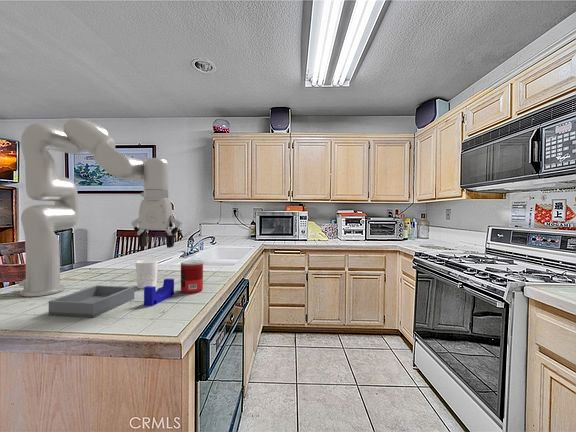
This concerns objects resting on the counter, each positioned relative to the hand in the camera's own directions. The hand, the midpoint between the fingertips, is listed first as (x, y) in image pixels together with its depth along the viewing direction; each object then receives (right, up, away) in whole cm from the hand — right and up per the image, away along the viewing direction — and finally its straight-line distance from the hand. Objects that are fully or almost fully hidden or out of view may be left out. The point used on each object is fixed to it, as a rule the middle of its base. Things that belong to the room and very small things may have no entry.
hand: (156, 246), depth 99 cm
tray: (-16, -18, -7) cm, 25 cm away
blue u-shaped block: (0, -18, 0) cm, 18 cm away
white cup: (-11, -18, +17) cm, 27 cm away
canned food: (+8, -18, +12) cm, 23 cm away
